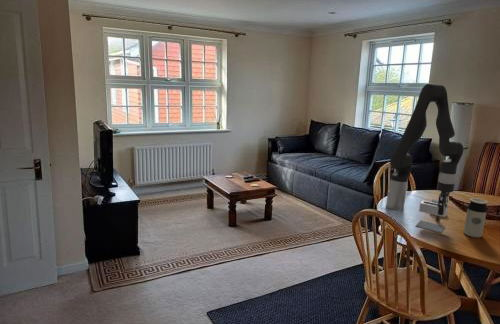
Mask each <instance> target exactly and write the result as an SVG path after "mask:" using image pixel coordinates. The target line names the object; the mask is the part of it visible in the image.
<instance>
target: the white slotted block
mask: <svg viewBox="0 0 500 324" xmlns="http://www.w3.org/2000/svg"><path fill="white" fill-rule="evenodd" d="M440 205H442V204H440ZM448 208H449V205H448V204H447V205H445V206H444V210H443V215H438V209H439V207H438V203H433V202H432V201H428V200H423V199H422V201H421V202H420V203H419V212H422V213H426V214H429V215H430V214H431V215H434V216H436V215H438V216H440V217H443V218H445V217H446V216H447V215H448V210H449V209H448Z"/></svg>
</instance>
